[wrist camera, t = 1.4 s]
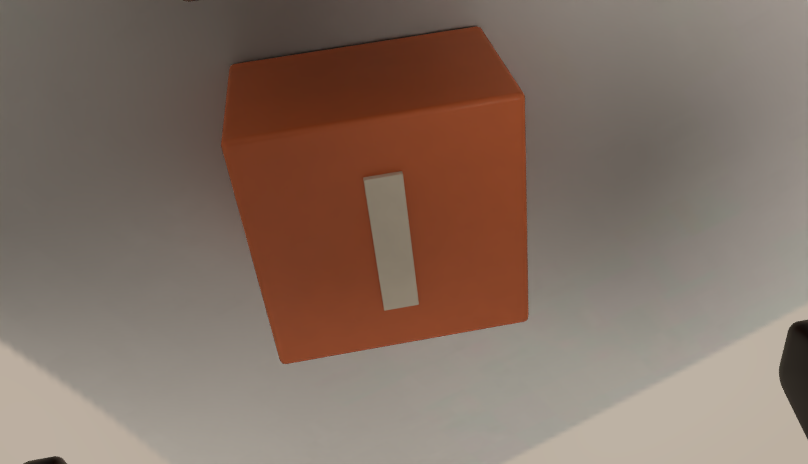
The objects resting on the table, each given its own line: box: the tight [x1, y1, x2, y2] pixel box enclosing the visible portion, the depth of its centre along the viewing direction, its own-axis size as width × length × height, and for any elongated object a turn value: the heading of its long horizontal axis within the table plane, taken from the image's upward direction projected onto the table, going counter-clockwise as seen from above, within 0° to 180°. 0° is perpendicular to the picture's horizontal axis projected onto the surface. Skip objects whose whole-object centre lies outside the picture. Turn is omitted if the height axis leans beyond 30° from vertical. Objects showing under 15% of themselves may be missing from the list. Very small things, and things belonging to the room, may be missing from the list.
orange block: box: [221, 26, 528, 364], centre depth 14 cm, size 4×4×3 cm
